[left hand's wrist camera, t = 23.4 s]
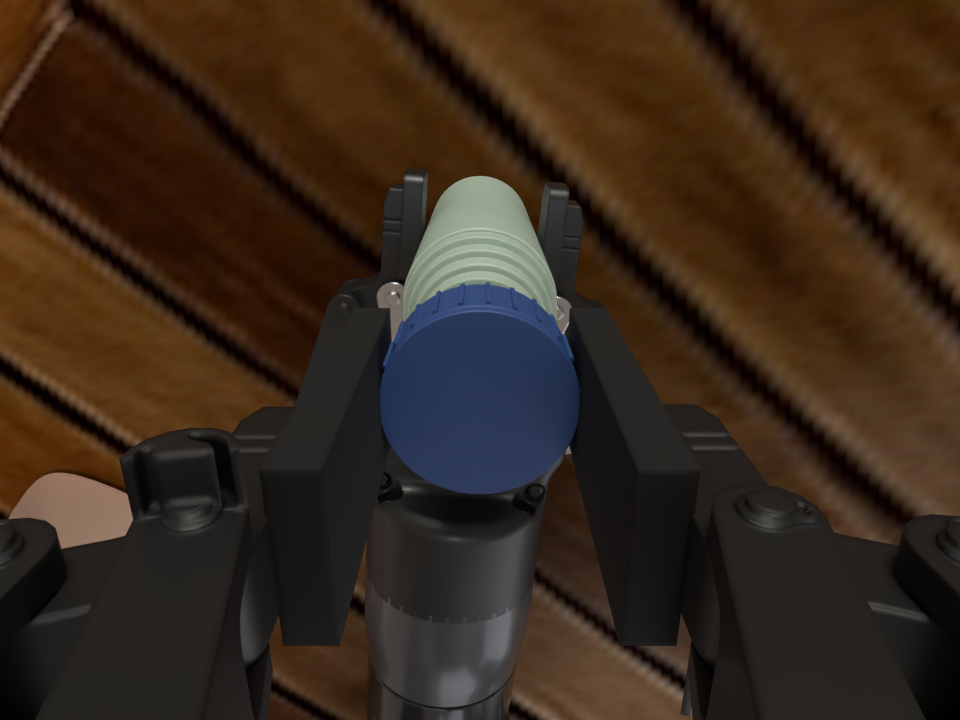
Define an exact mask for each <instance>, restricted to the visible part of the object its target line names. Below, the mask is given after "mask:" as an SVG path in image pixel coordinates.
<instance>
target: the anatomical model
mask: <svg viewBox="0 0 960 720" xmlns="http://www.w3.org/2000/svg"><path fill="white" fill-rule="evenodd" d="M16 518H34V519H40V520H46V521H47V522H48V523H50V524H51V525H52V526H54V527H55V528H56V531H57V534H58V538H59V542H60V545H61V549H62V548H68V547H73V546H78V545H83V544H89V543H94V542H99V541H105V540H110V539H114V538H118V537H122V536H125V535H126V533H127V531H128V529H129V527H130V525H131V523H132V521H133V517H132V513H131V508H130V504H129V499H128V495H127V494H126V493H124V492H122V491H120V490H117V489H115V488H113V487H110V486H108V485H105V484H102V483H100V482H97V481H94V480H91V479H88V478H85V477H81V476H78V475H74V474H68V473H51V474H47V475H44V476H43V477H41V478H39V479H38V480H37V481H35V482H34V484H33V485H32V486H31V487H30V488H29V489H28V490H27V491H26V492H25V494H24V495H23V497H22V498H21V500H20V501H19V503H18V504H17V506H16V507H15V508H14V510H13V512H12V513H11V515H10V517H9V519H16Z"/></svg>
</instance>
